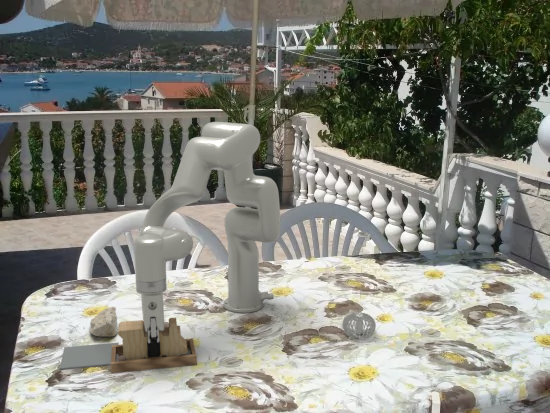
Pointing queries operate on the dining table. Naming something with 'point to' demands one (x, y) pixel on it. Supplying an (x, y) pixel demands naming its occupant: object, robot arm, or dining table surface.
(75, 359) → the slate mat
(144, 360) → the pocket frame
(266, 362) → the dining table surface
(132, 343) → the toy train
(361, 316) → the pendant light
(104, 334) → the stone
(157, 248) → the robot arm
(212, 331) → the dining table surface
